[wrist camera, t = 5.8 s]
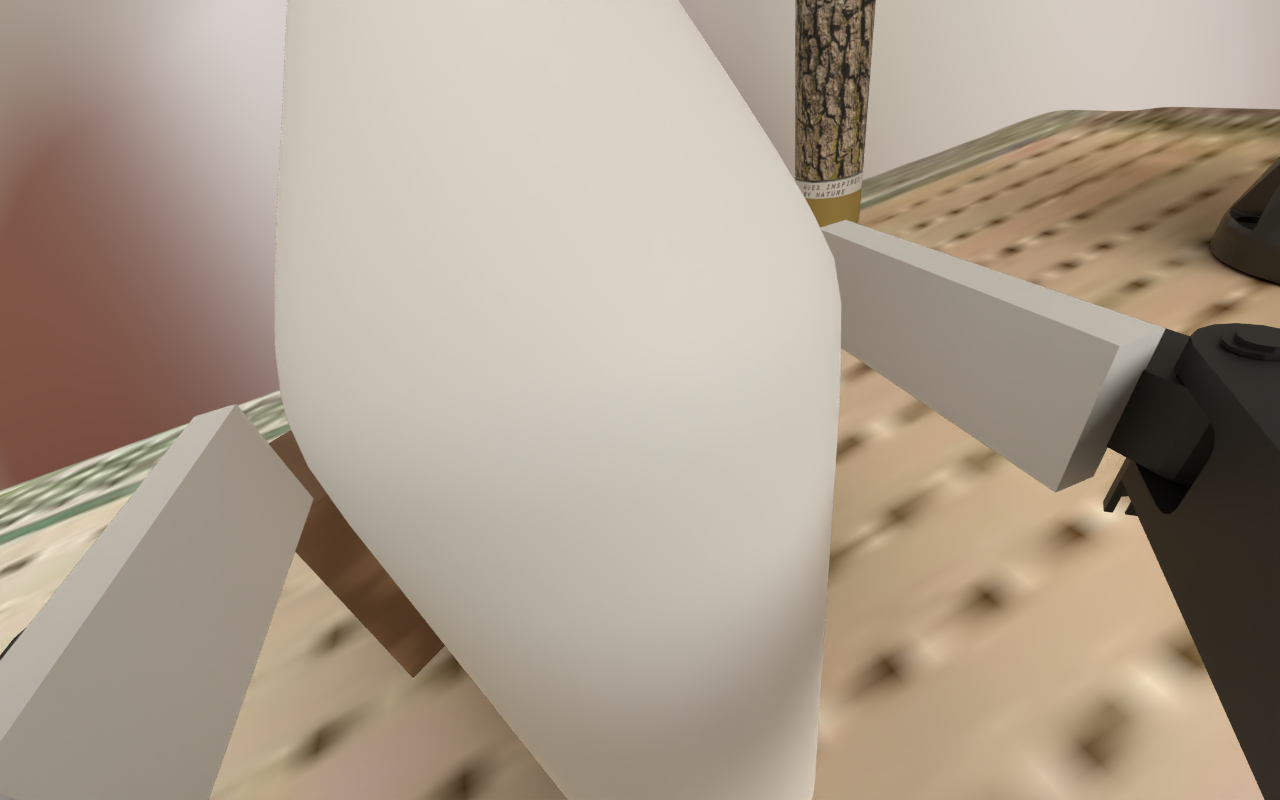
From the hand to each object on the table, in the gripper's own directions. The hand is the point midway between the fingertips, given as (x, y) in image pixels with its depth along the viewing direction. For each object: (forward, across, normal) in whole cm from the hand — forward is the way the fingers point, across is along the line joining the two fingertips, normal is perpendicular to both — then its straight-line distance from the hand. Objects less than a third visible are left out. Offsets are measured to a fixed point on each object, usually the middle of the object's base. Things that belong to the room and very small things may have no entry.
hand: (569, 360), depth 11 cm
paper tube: (+39, +34, -15) cm, 54 cm away
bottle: (-3, 0, -15) cm, 15 cm away
